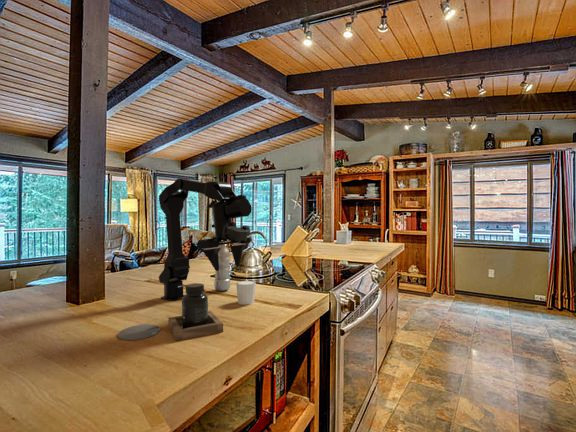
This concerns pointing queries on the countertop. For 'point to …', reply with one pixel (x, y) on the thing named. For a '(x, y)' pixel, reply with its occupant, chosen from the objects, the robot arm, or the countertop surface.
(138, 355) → the countertop surface
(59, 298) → the countertop surface
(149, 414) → the countertop surface
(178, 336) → the brown flat square frame
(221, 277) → the plastic bottle
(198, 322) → the supplement bottle
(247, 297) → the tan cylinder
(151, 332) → the slate coaster
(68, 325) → the countertop surface
